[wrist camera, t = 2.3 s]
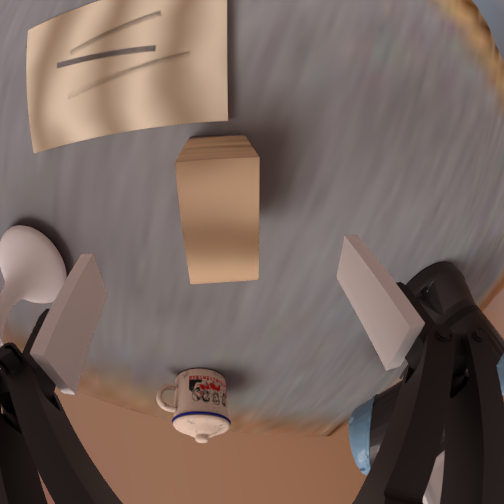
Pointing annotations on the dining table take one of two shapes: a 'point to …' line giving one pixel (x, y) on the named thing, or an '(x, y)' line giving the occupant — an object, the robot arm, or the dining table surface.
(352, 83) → the dining table surface
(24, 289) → the flower in vase
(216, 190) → the block
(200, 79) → the board
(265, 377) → the dining table surface
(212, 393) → the teacup with lid
